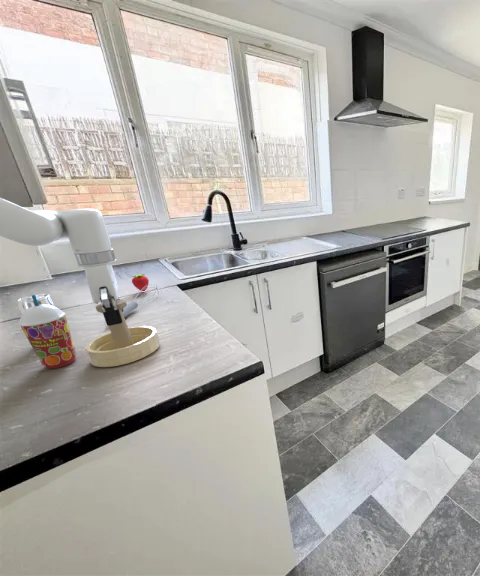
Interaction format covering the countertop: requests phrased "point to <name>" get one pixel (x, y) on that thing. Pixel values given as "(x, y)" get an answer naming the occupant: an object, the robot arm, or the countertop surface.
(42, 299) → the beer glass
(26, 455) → the countertop surface
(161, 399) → the countertop surface
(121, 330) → the handle
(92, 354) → the bowl
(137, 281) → the strawberry
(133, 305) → the kitchen whisk
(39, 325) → the smoothie
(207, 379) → the countertop surface
